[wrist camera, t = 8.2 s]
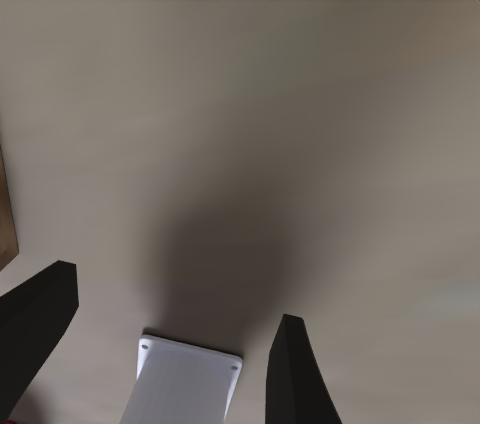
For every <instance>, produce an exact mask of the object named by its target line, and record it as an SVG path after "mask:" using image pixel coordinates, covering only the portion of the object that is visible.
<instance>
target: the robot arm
mask: <svg viewBox="0 0 480 424" xmlns="http://www.w3.org/2000/svg"><path fill="white" fill-rule="evenodd" d="M78 307H79V301H78V286H77V271H76V264H73V263H68V262H64V261H60V260H58V261H56V262H55V263H53V264H52V265H50V266H48V267H47V268H45V269H44V270H42V271H41V272H39V273H37V274H36V275H34V276H33V277H31V278H30V279H28V280H27V281H25V282H23V283H22V284H20V285H19V286H17V287H15V288H14V289H12V290H11V291H9V292H7V293H6V294H4V295H2V296H1V297H0V424H5V422H6V420H7V419H8V417H9V415H10V413H11V412H12V410H13V408H14V406H15V405H16V403H17V402H18V400H19V399H20V397H21V396H22V394H23V393H24V391H25V390H26V388H27V387H28V385H29V384H30V383H31V381H32V380H33V378H34V377H35V375H36V374H37V373H38V371H39V370H40V368H41V367H42V365H43V364H44V362H45V361H46V360H47V358H48V357H49V355H50V354H51V352H52V351H53V350H54V348H55V347H56V345H57V344H58V342H59V341H60V339H61V338H62V336H63V335H64V333H65V332H66V330H67V328H68V326H69V324H70V322H71V320H72V319H73V317H74V315H75V313H76V311H77V309H78ZM242 362H243V360H242V359H241V358H240V357H238V356H235V355H230V354H226V353H222V352H218V351H214V350H209V349H205V348H201V347H197V346H193V345H188V344H184V343H180V342H176V341H172V340H167V339H163V338H159V337H155V336H151V335H142V336H141V337H140V340H139V350H138V365H137V380H136V384H135V386H134V389H133V391H132V394H131V396H130V399H129V401H128V404H127V406H126V409H125V411H124V414H123V416H122V419H121V421H120V424H223V423H224V420H225V417H226V414H227V411H228V408H229V405H230V402H231V398H232V395H233V392H234V389H235V386H236V383H237V380H238V377H239V373H240V370H241V367H242ZM265 424H342V422H341V420H340V418H339V415H338V413H337V411H336V409H335V407H334V404H333V402H332V400H331V398H330V395H329V393H328V391H327V388H326V386H325V383H324V381H323V378H322V376H321V373H320V370H319V368H318V365H317V362H316V359H315V357H314V354H313V351H312V348H311V345H310V341H309V338H308V335H307V331H306V327H305V324H304V320H303V319H302V318H301V317H296V316H292V315H288V314H284V315H283V317H282V320H281V323H280V325H279V328H278V331H277V333H276V336H275V339H274V342H273V344H272V347H271V350H270V354H269V361H268V369H267V378H266V409H265Z"/></svg>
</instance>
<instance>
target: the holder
mask: <svg viewBox="0 0 480 424" xmlns="http://www.w3.org/2000/svg"><path fill="white" fill-rule="evenodd" d="M18 254H19V252H18V246H17V240H16V235H15V229H14V223H13V218H12V212H11V206H10V200H9V195H8V189H7V183H6V177H5V172H4V166H3V160H2V155H1V149H0V271H1V270H2V269H3V268H4V267H5V266H6V265H7V264H9V263H10V262H11V261H12V260H13V259H14V258H15V257H16V256H17V255H18Z"/></svg>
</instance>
